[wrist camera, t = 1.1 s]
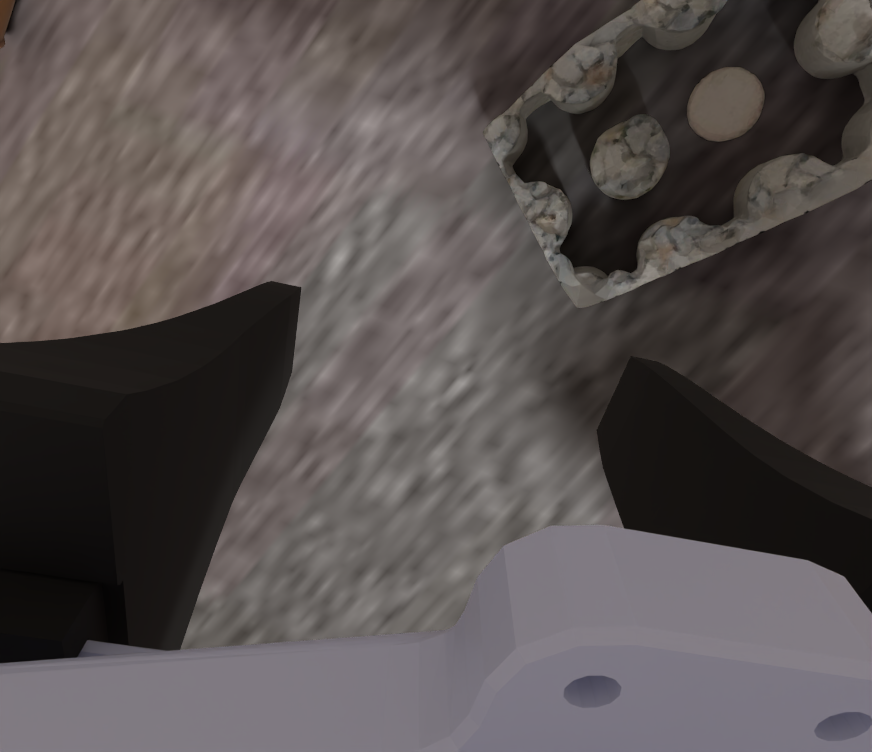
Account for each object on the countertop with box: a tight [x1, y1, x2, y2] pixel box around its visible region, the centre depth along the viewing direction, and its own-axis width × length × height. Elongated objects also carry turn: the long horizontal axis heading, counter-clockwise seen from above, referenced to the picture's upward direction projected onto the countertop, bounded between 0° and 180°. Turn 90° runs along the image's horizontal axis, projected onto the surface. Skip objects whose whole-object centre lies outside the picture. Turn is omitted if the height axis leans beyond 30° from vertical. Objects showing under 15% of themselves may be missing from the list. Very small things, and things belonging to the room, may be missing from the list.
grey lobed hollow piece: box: [483, 0, 872, 308], centre depth 17 cm, size 11×8×4 cm
